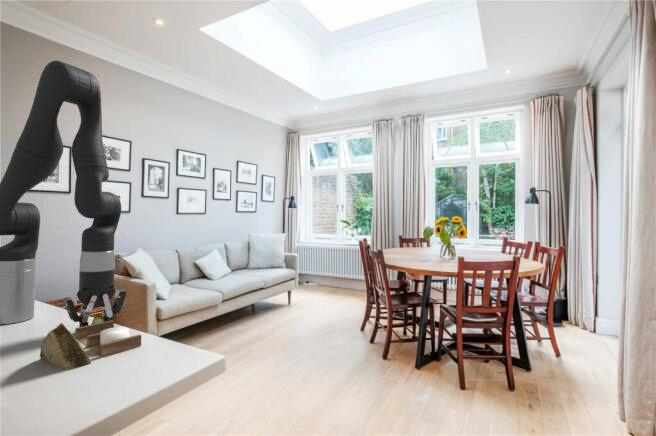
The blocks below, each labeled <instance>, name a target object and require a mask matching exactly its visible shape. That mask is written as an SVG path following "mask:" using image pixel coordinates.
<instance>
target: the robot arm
mask: <svg viewBox="0 0 656 436" xmlns="http://www.w3.org/2000/svg"><path fill="white" fill-rule="evenodd" d="M35 90H36V91H35V95H34V98H33V102H32V105H31V109H30V112H29V114H28V117H27V119H26V122H25V125H24V127H23V129H22V132H21V134H20V136H19V138H18V140H17V142H16V145H15V147H14V149H13V151H12V155H11V158H10V161H8V162H9V163H8V165H7V168H6V170H5V172H4V174H3V176H2V179H1V181H0V236H14V237H13V239H12V240H11V241H10V242H8V243H6V244H4V245H2V246H0V325H9V324H17V323H20V322H25V321H29V320H31V319H34V317H35V301H36V300H35V299H36V297H35V295H36V290H35V289H36V260H37V259H36V257H37V250H38V249H39V238H40V237H39V236H40V227H41V214H40V211H39V208H38V207H37V205H35V204H33V203H31V202H19V201H20V199H21V198H22V197H23V196H24V195H25V194H26V193H27V192H28V191H30V190H31V189H33V188H35V187H36V186H37V185H39V184H41V183H42V182H43V181H45V180H46V179H48V178H49V177H50V176H51V175H52V174H54V172H55V170H56V169H57V166H59V163H60V161H61V158H62V156H63V153H64V143H63V139H62V136H61V133H60V130H59V127H58V118H59V113H60V110H61V107H62V106H63V104H64V102H66V103H68V104H72V105H76V106H77V108H78V109H77V110H78V112H79V115H80V125H79V128H78V130H77V132H76V134H75V137H74V138H73V141H72V143H71V144H72V145H71V157H72V162H73V167H74V171H75V172H74V173H75V175H76V179H75V185H74V206H75V209H76V210H77V211H78V213H79V214H80V215H81V216H82V217H84V218H86V219H93V220H92V224H91V226H89V227H88V228H85V229H84V230H83V231H82V234H81V245H80V246H81V247H80V248H81V249H80V252H81V253H80V259H79V279H78V292H77V293H76V295H74V296H72V297H66V298H64V299H63V304H64V306H65V308H66V312H67V315H68V317H69V319H70V320H71V321H73V322H75V323H78V322H79V324H78V327H83V326H88V325H89V323H90V322H89V318H90V315H91V313H92V311H93V309H95V308H99V307H100V308H101V309H102V313H103V315H104V316H103V317H104V319H105V322H106V321H111V320H113V319H112V318H113V317H114V316H115V315H117V314H120V312H121V310H122V307H123V304H124V302H125V298H126V296H127V292H126V291H124V290H121V289H119V290H118V289H116V288H115V271H116V269H115V268H116V258H115V256H116V255H115V234H116V231H117V228H118V225H119V221H120V218H121V215H122V203H121V200H120V198H119V197H118V195H116V194H115V193H114V192H109V191H103V189H102V187H103V186H102V185H103V184H102V183H104V182H106V181H107V180H109V176H110V173H109V168H108V163H107V158H106V157H107V156H106V154H105V149H104V142H103V123H102V122H103V117H102V115H103V114H102V93H101V87H100V82H99V81H98V78H97V77H96V76H95V75H94V74H92V73H91V72H90V71H87V70H84V69H82V68H79V67H77V66H74V65H71V64H68V63H67V62H64V61H61V60H52V61H50V62H48V63H47V64H46V65H45V67H44V68H43V70H42V73H41V74H40V78H39V80H38V84H37V87H36V89H35ZM113 297H114V298H115V299H114V302H113V304H112V305H111V301H110V300H111V299H112V298H113ZM78 301H79V302H80V303H81V304H82V305H81V309H80V312H79V313H80V314H78V311H77V309H76V306H77V304H78Z"/></svg>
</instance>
